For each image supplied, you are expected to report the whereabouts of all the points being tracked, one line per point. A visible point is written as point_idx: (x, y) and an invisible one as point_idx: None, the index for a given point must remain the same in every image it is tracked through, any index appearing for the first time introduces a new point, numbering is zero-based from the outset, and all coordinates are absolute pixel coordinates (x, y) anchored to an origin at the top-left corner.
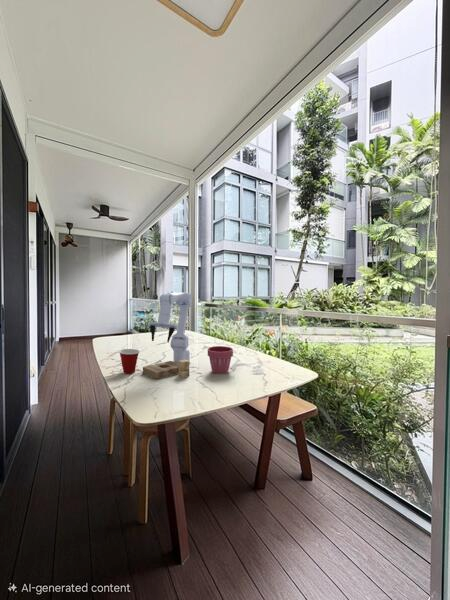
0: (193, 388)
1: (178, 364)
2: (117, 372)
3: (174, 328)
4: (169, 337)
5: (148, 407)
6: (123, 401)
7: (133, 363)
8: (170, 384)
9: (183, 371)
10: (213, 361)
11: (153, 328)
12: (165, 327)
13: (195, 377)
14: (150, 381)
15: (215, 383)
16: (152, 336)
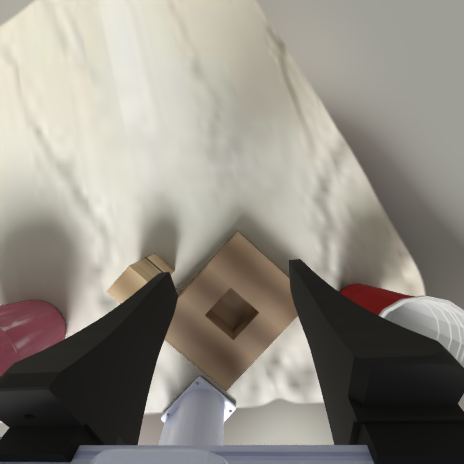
0: (100, 153)
1: (182, 340)
2: None
3: (7, 436)
4: (135, 292)
5: (196, 4)
6: (279, 43)
7: (356, 302)
8: (181, 186)
9: (145, 258)
10: (9, 319)
11: (352, 335)
12: (158, 446)
13: (113, 257)
14: (253, 211)
15: (37, 202)
16: (308, 273)
